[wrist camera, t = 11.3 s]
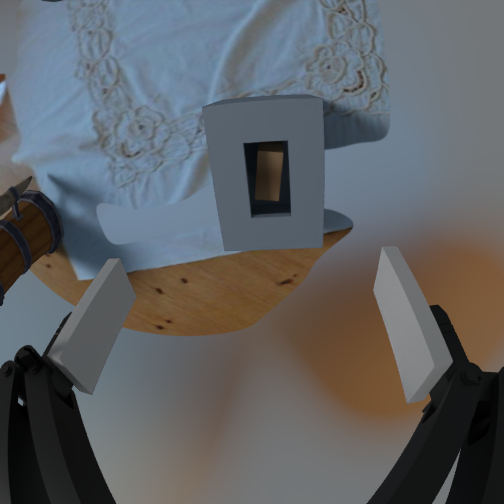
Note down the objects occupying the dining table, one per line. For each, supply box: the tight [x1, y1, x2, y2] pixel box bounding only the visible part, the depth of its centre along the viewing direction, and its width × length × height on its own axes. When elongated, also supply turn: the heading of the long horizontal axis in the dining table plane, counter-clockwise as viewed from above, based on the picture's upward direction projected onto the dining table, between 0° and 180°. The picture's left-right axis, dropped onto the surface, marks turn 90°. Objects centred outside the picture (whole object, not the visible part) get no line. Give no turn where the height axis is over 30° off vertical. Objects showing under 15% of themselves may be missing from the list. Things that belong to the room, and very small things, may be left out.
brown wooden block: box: [255, 141, 283, 201], centre depth 32 cm, size 6×3×8 cm, turn 177°
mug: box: [0, 176, 64, 306], centre depth 35 cm, size 19×14×20 cm
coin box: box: [202, 94, 324, 251], centre depth 32 cm, size 16×11×11 cm
